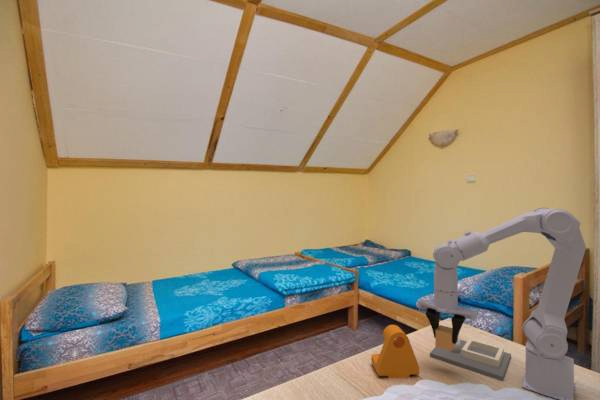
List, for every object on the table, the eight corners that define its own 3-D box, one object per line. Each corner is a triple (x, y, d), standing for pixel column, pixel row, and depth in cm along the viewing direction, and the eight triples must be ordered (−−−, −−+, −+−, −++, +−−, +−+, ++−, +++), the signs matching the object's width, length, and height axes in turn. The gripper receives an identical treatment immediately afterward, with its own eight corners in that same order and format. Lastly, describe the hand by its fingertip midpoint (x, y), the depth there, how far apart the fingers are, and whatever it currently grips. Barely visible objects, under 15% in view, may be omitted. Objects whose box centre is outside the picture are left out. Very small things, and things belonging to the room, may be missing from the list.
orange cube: (455, 345, 83) (455, 328, 83) (451, 351, 80) (451, 334, 80) (440, 340, 85) (440, 324, 85) (435, 346, 82) (435, 329, 82)
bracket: (407, 362, 87) (407, 320, 87) (419, 377, 80) (419, 331, 80) (370, 363, 86) (370, 321, 86) (378, 379, 79) (378, 332, 79)
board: (511, 357, 89) (511, 342, 89) (502, 380, 78) (502, 363, 78) (445, 338, 101) (445, 324, 101) (429, 356, 90) (429, 341, 90)
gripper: (413, 287, 84) (413, 336, 84) (472, 299, 75) (472, 354, 75) (422, 282, 90) (422, 328, 90) (478, 292, 80) (478, 343, 80)
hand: (445, 339), depth 83 cm, fingers closed on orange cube, 4 cm apart
